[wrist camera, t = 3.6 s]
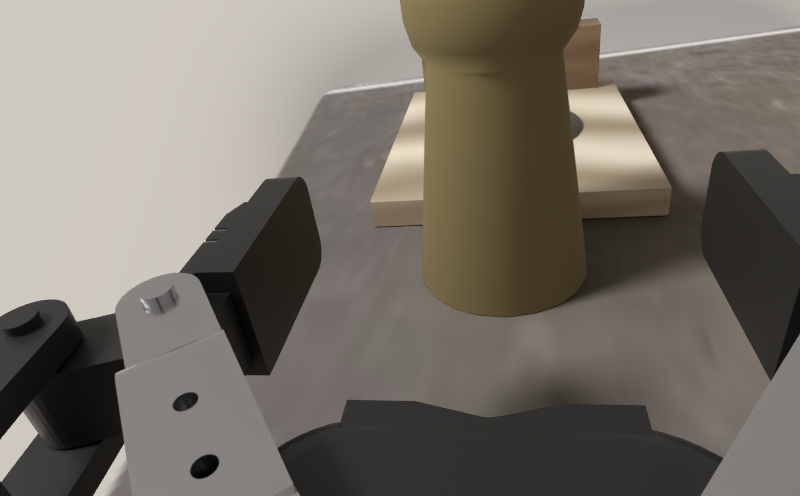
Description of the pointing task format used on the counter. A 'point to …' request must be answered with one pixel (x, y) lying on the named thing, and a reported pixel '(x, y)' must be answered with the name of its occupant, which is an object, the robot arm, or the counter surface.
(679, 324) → the counter surface
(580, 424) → the robot arm
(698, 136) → the counter surface
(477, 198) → the cork
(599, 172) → the wooden stand base
